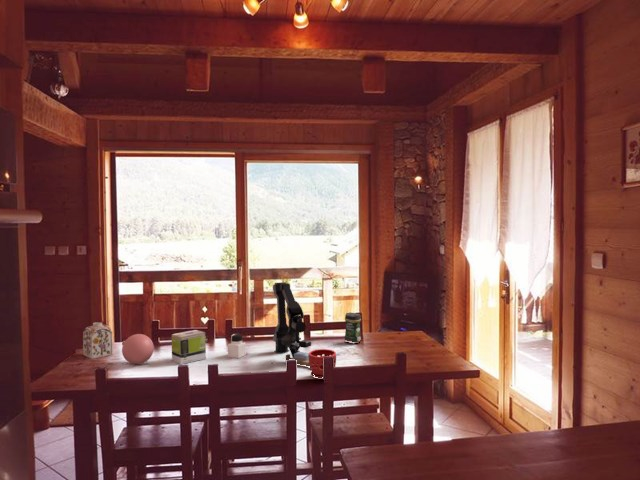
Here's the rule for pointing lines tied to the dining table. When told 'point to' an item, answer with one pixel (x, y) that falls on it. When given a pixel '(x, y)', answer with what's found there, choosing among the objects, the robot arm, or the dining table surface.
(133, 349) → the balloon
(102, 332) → the decorative jar
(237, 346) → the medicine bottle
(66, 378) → the dining table surface
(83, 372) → the dining table surface
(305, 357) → the block
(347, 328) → the coffee jar
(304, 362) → the chute
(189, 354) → the tea box
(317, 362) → the plant pot
